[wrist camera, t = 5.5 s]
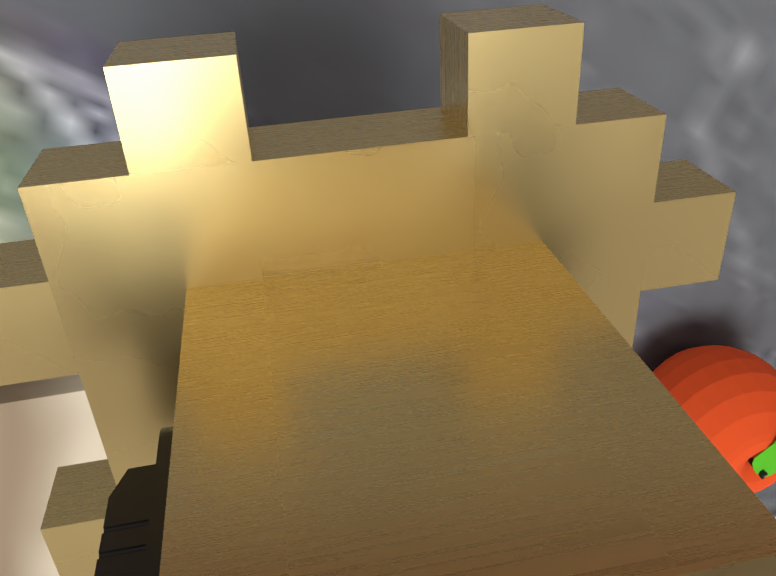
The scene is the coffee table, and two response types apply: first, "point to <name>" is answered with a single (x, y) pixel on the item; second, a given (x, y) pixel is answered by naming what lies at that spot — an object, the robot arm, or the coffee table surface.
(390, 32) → the coffee table surface
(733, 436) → the clementine
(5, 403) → the carrier plate
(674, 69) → the coffee table surface
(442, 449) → the gear
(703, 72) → the coffee table surface
